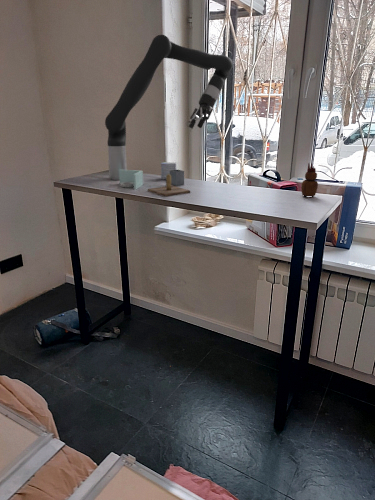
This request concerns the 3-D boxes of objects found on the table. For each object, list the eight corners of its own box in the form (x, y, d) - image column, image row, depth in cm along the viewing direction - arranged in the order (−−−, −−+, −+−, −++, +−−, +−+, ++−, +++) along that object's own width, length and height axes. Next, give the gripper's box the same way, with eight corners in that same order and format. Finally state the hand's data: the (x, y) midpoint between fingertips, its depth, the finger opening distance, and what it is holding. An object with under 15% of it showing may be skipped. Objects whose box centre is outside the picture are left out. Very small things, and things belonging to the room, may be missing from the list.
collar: (169, 184, 187) (169, 170, 184) (177, 183, 190) (177, 169, 187) (175, 186, 183) (175, 171, 181) (184, 185, 186) (184, 170, 184)
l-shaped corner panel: (120, 184, 188) (119, 169, 185) (143, 185, 186) (142, 170, 184) (111, 189, 177) (111, 173, 174) (136, 190, 175) (135, 174, 173)
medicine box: (176, 178, 203) (176, 162, 199) (175, 180, 198) (175, 163, 195) (162, 178, 203) (162, 162, 200) (161, 179, 199) (160, 163, 196)
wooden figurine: (301, 197, 163) (305, 163, 158) (299, 195, 169) (303, 161, 163) (317, 198, 162) (322, 163, 157) (314, 195, 168) (319, 162, 162)
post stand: (147, 191, 172) (147, 173, 169) (172, 187, 180) (172, 170, 177) (165, 196, 162) (165, 178, 159) (190, 192, 170) (190, 174, 167)
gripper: (196, 94, 184) (181, 123, 184) (211, 91, 172) (196, 122, 172) (207, 103, 188) (193, 132, 188) (223, 100, 176) (207, 131, 176)
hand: (194, 127), depth 180 cm, fingers open, 8 cm apart
